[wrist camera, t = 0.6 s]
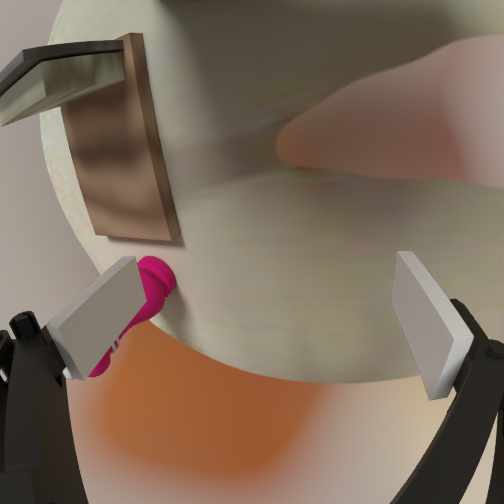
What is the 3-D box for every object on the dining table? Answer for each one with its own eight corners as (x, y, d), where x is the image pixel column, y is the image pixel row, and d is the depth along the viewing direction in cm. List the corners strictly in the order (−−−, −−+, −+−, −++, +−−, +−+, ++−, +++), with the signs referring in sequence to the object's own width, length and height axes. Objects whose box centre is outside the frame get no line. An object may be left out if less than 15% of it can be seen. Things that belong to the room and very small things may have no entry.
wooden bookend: (66, 71, 28) (-24, 95, 17) (142, 33, 23) (28, 39, 12) (104, 228, 41) (36, 283, 30) (180, 232, 36) (104, 307, 25)
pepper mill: (151, 243, 38) (45, 348, 23) (188, 282, 40) (97, 398, 24) (130, 265, 43) (40, 358, 27) (163, 300, 44) (83, 400, 29)
